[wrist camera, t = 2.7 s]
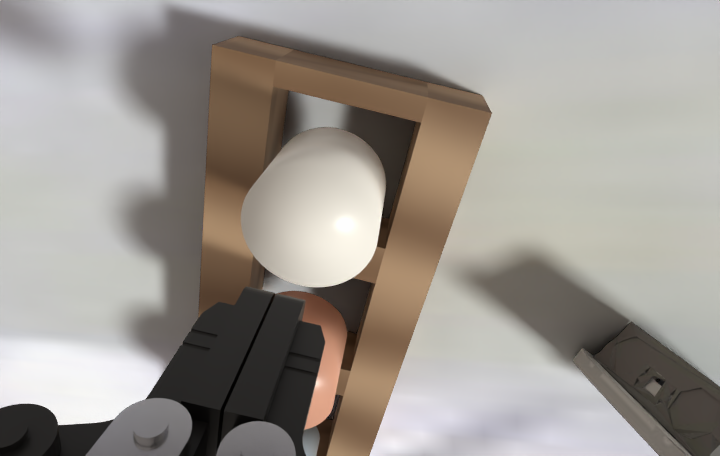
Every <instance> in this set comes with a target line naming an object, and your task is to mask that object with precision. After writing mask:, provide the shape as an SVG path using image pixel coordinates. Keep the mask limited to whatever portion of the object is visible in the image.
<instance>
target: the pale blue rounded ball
mask: <svg viewBox="0 0 720 456" xmlns="http://www.w3.org/2000/svg"><path fill="white" fill-rule="evenodd" d="M319 441H320V435H319V431H318V429H317V427H316V426H314V427H312V428H309V429H306V430H304V434H303V447H304V451H305V454H306V456H316V455H317V450H318V446H319Z"/></svg>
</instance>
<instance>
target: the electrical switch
mask: <svg viewBox="0 0 720 456" xmlns="http://www.w3.org/2000/svg"><path fill="white" fill-rule="evenodd" d="M573 362H574V363H575V364H576V366H577V367H578V368H579V369H580V370H581V372H582V373H583V374H584V375H585V376H586V377H587V379H588V380H589V381H590V382H591V383H592V384H593V385H594V386H595V387H596V388H597V390H598V391H599V392H600V393H601V394H602V395H603V396H604V397H605V398H606V399H607V400H608V401H609V403H610V404H611V405H612V406H613V407H614V408H615V409H616V410H617V411H618V412H619V413H620V414H621V415H622V417H623V418H624V419H625V420H626V421H627V422H628V423H629V424H630V425H631V426H632V427H633V428H634V430H635V431H636V432H637V433H638V434H639V435H640V436H641V437H642V438H643V439H644V440H645V441H646V442H647V443H648V444H649V445H650V446H651V448H652V449H653V450H654V451H655V452H656V453H657V454H658V455H659V456H720V387H719V386H718V385H716V384H715V383H714V382H712V381H711V380H710V379H708V378H707V377H706V376H704V375H703V374H702V373H700V372H699V371H697V370H696V369H695V368H693V367H692V366H691V365H689V364H688V363H687V362H685V361H684V360H683V359H681V358H680V357H679V356H677V355H676V354H674V353H673V352H672V351H670V350H669V349H668V348H666V347H665V346H664V345H662V344H661V343H660V342H658V341H657V340H655V339H654V338H653V337H651V336H650V335H649V334H647V333H646V332H645V331H643V330H642V329H641V328H639V327H638V326H637V325H635V324H634V323H632V322H631V323H630V324H629V325H628V326H627V327H626V328H625V329H624V330H623V331H622V332H621V333H620V334H619V335H618V336H617V337H616V338H615V339H614V340H612V341H611V342H609V343H608V344H607V345H606V346H605V347H604V348H603V349H602V351H601V352H599V353H598V354H596V355H595V356H593V355H592V354H590V353H589V352H587V351H586V350H585V349H581V350H580V351H579V352H578V354H577V355H576V356H575V357H574V358H573ZM649 368H650V369H649ZM647 369H649V370H647ZM646 370H647V371H646ZM657 378H659V379H661V380H660V381H659V382H658V383H657V382H656V381H655V380H656V379H657Z"/></svg>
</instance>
